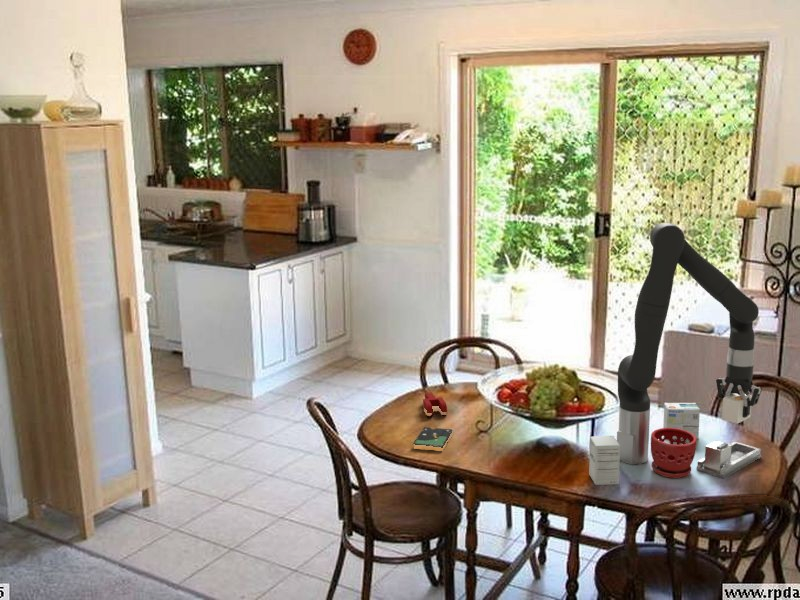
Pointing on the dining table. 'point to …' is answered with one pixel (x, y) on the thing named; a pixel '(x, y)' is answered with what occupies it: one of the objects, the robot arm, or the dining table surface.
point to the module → (734, 409)
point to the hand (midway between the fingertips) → (736, 414)
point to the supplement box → (604, 460)
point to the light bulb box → (682, 417)
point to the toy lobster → (433, 403)
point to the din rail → (727, 458)
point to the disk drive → (433, 437)
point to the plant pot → (672, 452)
